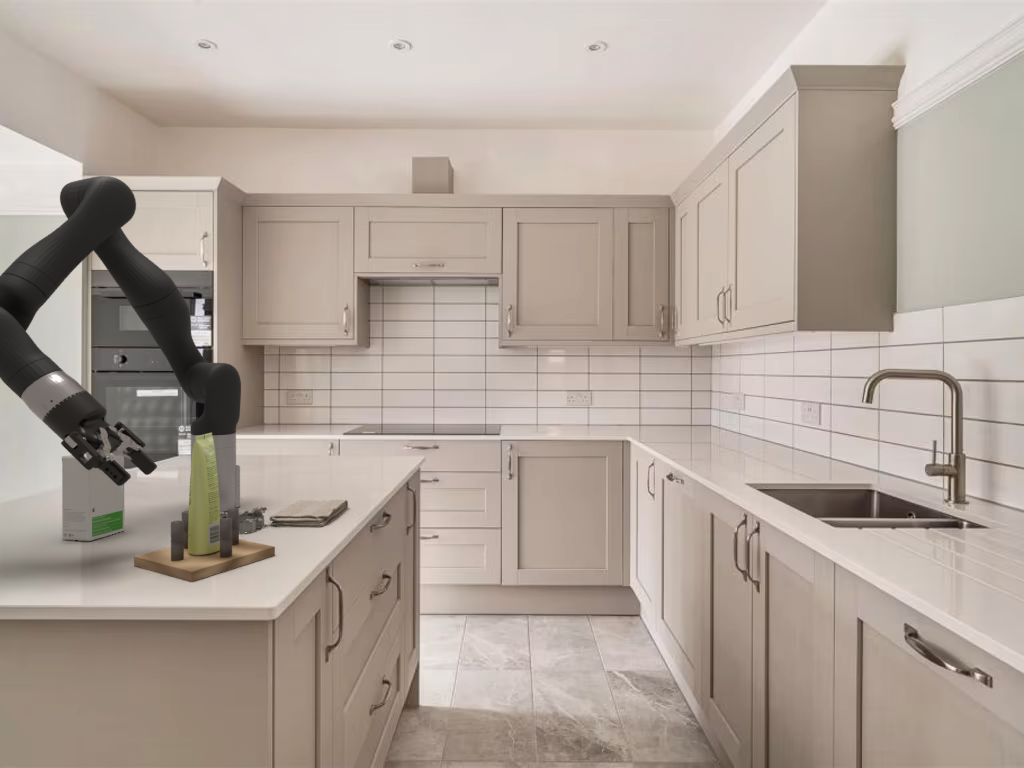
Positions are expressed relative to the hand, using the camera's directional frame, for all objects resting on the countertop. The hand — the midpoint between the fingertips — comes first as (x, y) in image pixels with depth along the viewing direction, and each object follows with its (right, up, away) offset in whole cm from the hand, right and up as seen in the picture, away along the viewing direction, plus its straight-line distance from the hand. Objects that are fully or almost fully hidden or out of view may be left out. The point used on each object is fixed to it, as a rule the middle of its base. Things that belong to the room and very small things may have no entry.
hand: (139, 476), depth 99 cm
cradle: (+11, -14, +1) cm, 18 cm away
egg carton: (+6, -14, +21) cm, 26 cm away
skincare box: (-18, -14, +16) cm, 28 cm away
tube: (+10, -13, +1) cm, 16 cm away
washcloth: (+18, -14, +32) cm, 39 cm away
